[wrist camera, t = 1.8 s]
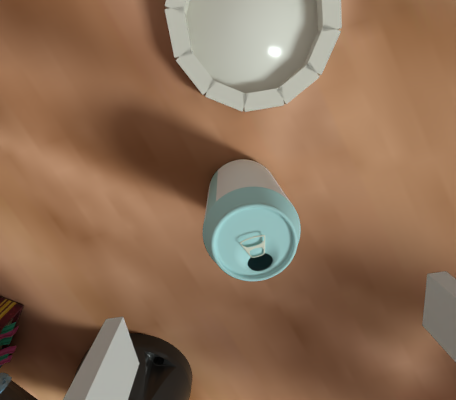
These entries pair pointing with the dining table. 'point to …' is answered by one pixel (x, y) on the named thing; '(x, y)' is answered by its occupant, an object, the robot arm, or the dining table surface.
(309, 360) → the dining table surface
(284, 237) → the can
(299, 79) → the saucer
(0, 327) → the decorative book
